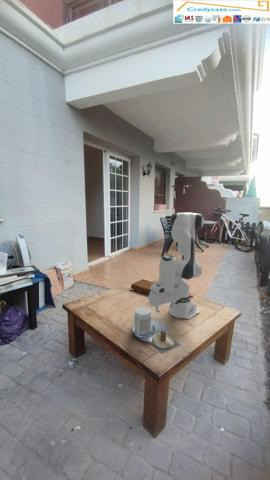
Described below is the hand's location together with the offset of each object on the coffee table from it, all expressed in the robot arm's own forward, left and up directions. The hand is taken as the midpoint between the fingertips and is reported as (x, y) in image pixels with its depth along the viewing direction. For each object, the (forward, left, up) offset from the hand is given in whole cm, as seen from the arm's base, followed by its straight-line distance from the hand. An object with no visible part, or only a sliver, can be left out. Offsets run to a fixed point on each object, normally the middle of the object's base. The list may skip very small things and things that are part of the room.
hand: (164, 310), depth 118 cm
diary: (-39, -66, -20) cm, 80 cm away
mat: (0, 0, -20) cm, 20 cm away
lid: (0, 0, -19) cm, 19 cm away
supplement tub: (+5, -13, -20) cm, 24 cm away
